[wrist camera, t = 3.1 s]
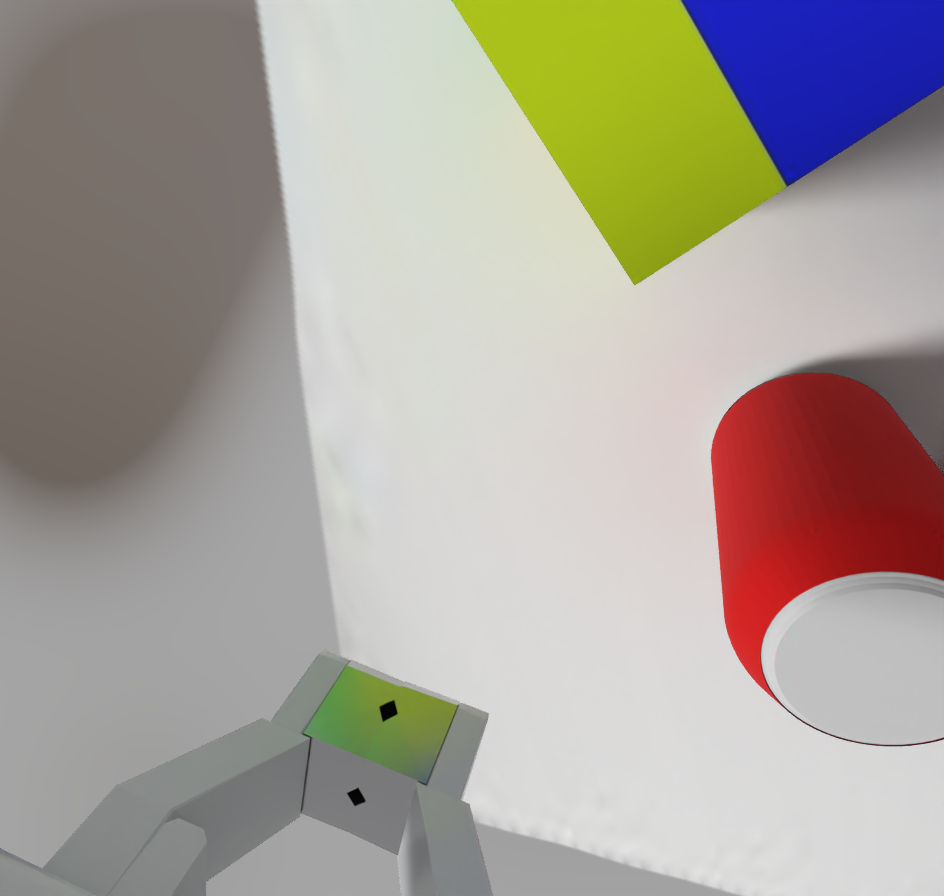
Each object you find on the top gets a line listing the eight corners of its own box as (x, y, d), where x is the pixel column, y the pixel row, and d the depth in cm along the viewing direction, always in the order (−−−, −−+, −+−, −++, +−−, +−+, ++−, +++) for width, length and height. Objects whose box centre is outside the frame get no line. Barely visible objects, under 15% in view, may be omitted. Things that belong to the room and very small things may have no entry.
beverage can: (708, 368, 24) (727, 545, 14) (903, 356, 22) (1099, 552, 12) (711, 512, 26) (728, 757, 16) (887, 513, 24) (1038, 793, 14)
